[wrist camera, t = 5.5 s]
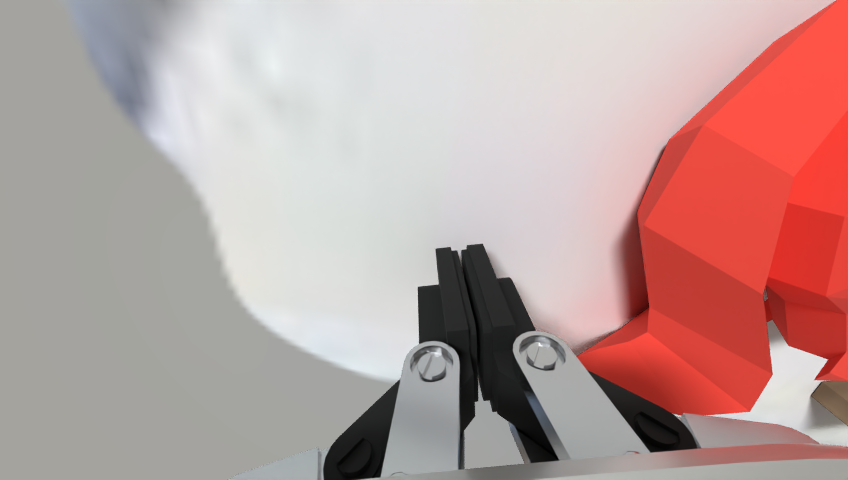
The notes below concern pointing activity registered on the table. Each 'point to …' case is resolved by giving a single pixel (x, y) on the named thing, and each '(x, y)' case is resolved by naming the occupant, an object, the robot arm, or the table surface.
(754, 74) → the animal figurine
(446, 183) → the table surface
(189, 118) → the table surface
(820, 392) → the frame
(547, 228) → the table surface
